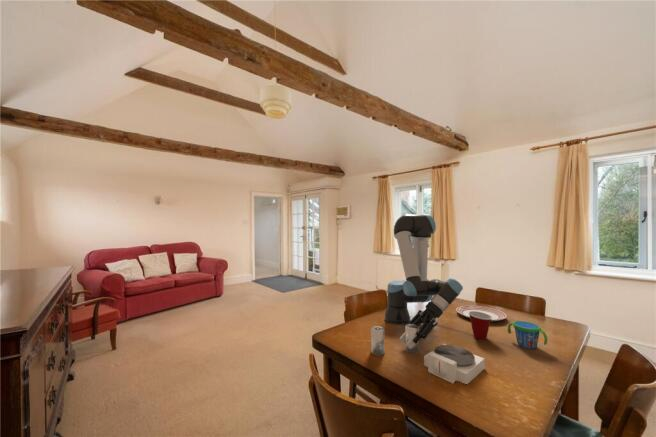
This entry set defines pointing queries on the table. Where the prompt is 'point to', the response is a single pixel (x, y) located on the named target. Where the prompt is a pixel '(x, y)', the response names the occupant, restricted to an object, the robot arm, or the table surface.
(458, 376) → the scale
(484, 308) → the dinner plate
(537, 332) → the snack cup
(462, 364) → the scale pan
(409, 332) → the silver metal cylinder
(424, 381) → the table surface
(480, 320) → the plastic cup
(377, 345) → the cylinder
